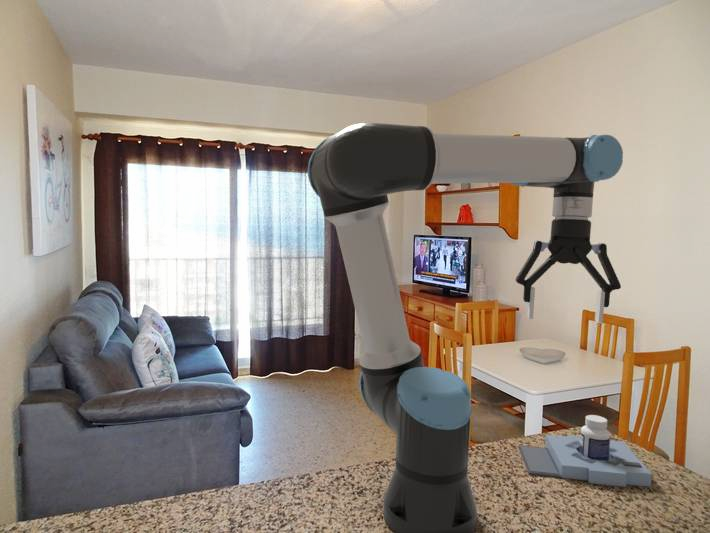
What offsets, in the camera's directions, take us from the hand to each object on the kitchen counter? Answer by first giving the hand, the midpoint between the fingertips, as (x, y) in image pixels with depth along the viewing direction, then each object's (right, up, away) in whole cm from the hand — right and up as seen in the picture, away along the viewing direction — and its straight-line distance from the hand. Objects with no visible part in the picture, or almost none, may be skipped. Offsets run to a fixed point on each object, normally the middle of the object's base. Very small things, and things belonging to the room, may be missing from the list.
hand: (563, 320), depth 103 cm
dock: (+5, -29, -3) cm, 30 cm away
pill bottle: (+5, -29, -3) cm, 30 cm away
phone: (-6, -29, -2) cm, 30 cm away
